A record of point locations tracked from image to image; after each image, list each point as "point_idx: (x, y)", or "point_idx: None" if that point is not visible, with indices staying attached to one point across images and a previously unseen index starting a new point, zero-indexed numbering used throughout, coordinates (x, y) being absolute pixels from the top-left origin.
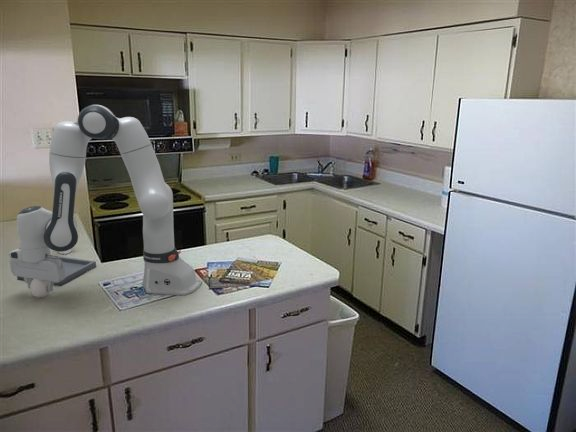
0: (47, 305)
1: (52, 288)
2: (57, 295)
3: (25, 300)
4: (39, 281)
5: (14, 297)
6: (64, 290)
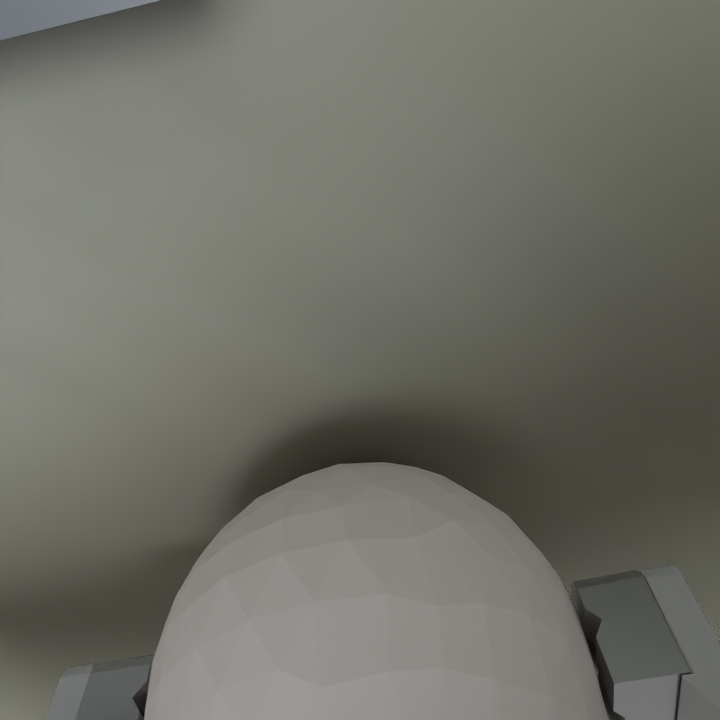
0: (701, 599)
1: (698, 621)
2: (589, 356)
3: None
4: None
5: (28, 673)
6: (538, 114)
